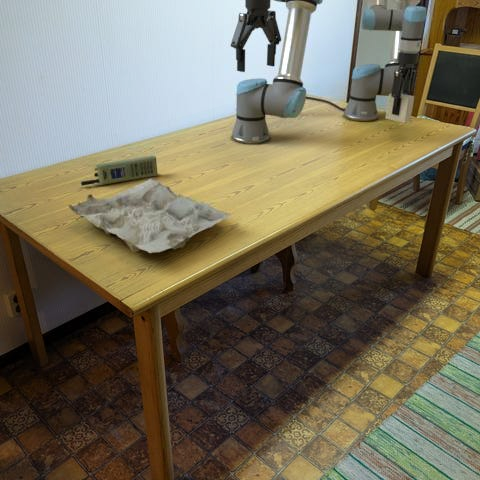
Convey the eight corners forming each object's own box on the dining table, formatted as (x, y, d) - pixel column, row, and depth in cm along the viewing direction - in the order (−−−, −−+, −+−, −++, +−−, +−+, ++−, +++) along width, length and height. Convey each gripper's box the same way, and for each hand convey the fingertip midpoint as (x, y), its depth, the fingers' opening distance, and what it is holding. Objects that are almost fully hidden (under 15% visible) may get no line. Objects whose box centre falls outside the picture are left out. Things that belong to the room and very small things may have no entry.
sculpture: (148, 192, 160) (63, 221, 139) (147, 174, 157) (60, 201, 136) (236, 233, 139) (152, 274, 118) (238, 213, 136) (151, 251, 115)
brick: (404, 122, 199) (408, 98, 194) (385, 118, 204) (389, 94, 200) (410, 120, 202) (414, 96, 197) (391, 116, 207) (395, 92, 202)
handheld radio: (158, 176, 170) (83, 189, 160) (155, 173, 172) (80, 186, 162) (156, 157, 167) (79, 169, 157) (153, 154, 169) (77, 166, 159)
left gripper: (236, -4, 140) (236, 75, 151) (294, -7, 155) (290, 65, 166) (218, -5, 145) (219, 71, 155) (276, -8, 160) (273, 62, 171)
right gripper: (406, 55, 183) (395, 119, 194) (429, 50, 194) (418, 111, 205) (387, 53, 187) (378, 115, 199) (411, 48, 198) (401, 107, 210)
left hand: (256, 68), depth 161 cm, fingers open, 13 cm apart
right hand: (398, 113), depth 202 cm, fingers closed on brick, 5 cm apart
